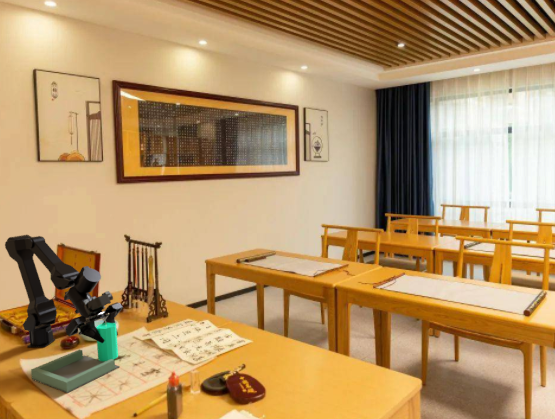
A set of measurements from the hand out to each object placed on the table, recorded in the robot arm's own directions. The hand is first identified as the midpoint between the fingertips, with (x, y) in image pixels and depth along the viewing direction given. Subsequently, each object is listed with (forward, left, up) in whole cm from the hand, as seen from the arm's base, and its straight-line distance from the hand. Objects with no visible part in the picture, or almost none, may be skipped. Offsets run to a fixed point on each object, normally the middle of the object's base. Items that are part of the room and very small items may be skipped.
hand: (110, 338), depth 136 cm
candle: (-1, 0, -6) cm, 7 cm away
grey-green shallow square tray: (-6, -10, -7) cm, 13 cm away
